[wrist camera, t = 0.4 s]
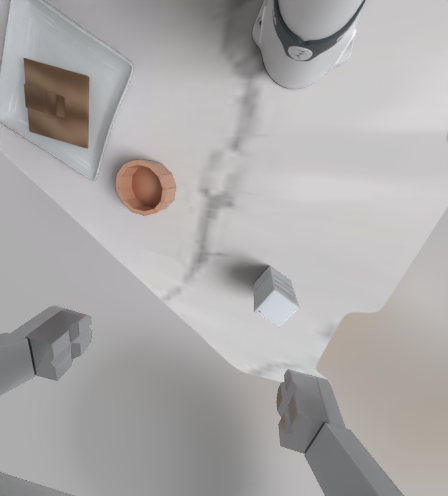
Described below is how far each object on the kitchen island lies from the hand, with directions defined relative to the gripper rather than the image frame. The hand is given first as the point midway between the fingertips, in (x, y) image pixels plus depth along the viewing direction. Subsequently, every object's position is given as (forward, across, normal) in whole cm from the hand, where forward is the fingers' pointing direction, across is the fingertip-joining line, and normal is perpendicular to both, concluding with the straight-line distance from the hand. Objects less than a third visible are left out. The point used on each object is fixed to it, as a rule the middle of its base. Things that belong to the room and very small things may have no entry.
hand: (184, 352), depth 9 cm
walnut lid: (+44, +44, -11) cm, 63 cm away
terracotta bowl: (+47, +23, +3) cm, 52 cm away
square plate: (+48, +45, -13) cm, 67 cm away
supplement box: (+47, -13, +21) cm, 53 cm away
